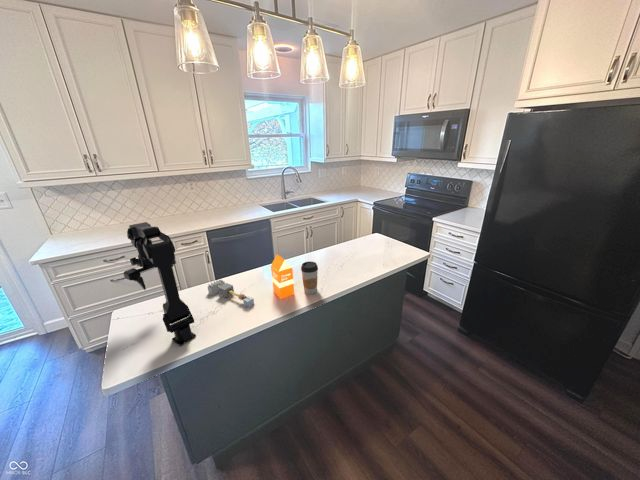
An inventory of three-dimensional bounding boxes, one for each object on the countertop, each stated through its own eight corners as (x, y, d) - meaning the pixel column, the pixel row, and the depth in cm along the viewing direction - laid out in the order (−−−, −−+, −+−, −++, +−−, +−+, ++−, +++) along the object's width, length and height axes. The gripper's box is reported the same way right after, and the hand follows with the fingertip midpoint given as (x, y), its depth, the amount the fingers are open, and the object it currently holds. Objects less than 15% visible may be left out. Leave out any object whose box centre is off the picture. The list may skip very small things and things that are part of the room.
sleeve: (234, 292, 130) (232, 285, 129) (225, 297, 126) (224, 289, 125) (227, 290, 133) (226, 282, 132) (219, 294, 129) (218, 287, 128)
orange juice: (280, 299, 125) (276, 261, 118) (273, 291, 132) (269, 255, 125) (294, 293, 129) (292, 257, 122) (286, 286, 136) (283, 251, 129)
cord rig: (257, 301, 123) (256, 292, 122) (244, 310, 117) (243, 301, 116) (222, 286, 138) (220, 278, 137) (208, 293, 132) (207, 284, 130)
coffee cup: (304, 297, 126) (302, 269, 121) (300, 288, 134) (299, 262, 129) (320, 294, 128) (319, 266, 123) (316, 285, 136) (315, 260, 131)
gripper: (159, 242, 120) (167, 272, 125) (112, 256, 105) (123, 289, 111) (172, 246, 114) (180, 277, 119) (124, 261, 100) (135, 296, 105)
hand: (156, 284), depth 114 cm, fingers open, 9 cm apart
